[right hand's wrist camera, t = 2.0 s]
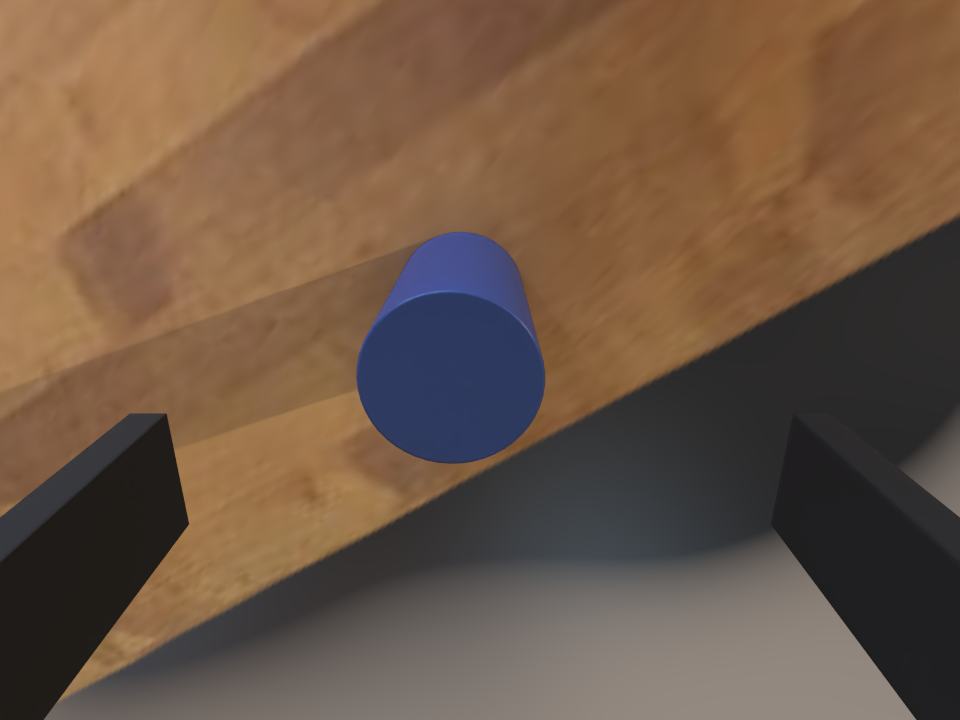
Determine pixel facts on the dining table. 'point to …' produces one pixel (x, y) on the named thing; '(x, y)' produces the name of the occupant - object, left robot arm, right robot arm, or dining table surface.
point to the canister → (453, 354)
